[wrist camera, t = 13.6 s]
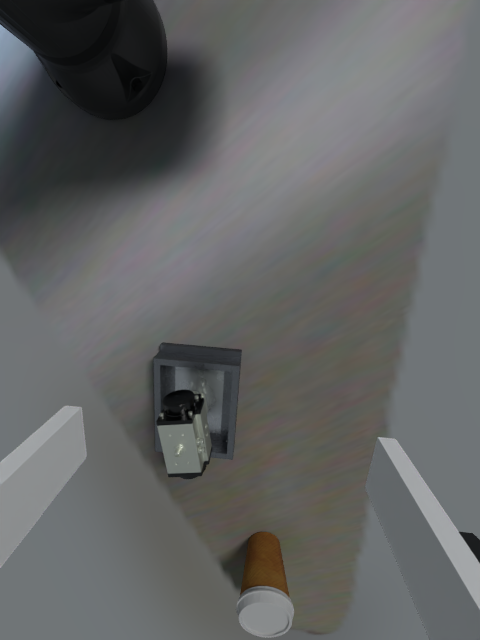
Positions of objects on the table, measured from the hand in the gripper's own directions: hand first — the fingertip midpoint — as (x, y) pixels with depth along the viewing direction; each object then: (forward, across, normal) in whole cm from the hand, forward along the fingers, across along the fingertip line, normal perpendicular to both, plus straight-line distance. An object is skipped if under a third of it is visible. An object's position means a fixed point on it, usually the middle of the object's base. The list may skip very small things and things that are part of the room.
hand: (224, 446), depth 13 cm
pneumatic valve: (+31, -7, -18) cm, 36 cm away
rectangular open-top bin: (+32, -7, -18) cm, 37 cm away
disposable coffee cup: (+32, +7, -50) cm, 60 cm away
